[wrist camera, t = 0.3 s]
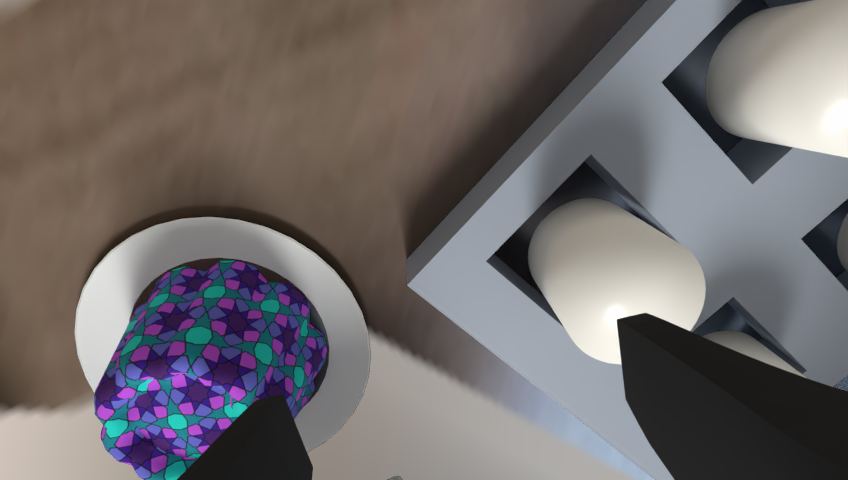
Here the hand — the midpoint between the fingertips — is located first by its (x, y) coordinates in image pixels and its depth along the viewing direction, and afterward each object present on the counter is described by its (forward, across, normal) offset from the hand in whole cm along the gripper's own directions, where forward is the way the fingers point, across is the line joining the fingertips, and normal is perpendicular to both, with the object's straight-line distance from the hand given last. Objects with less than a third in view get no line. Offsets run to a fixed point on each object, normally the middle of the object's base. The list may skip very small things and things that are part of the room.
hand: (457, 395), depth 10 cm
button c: (+7, -5, +1) cm, 9 cm away
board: (+10, -11, +2) cm, 15 cm away
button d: (+7, -12, -4) cm, 14 cm away
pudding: (+10, +9, +2) cm, 14 cm away
